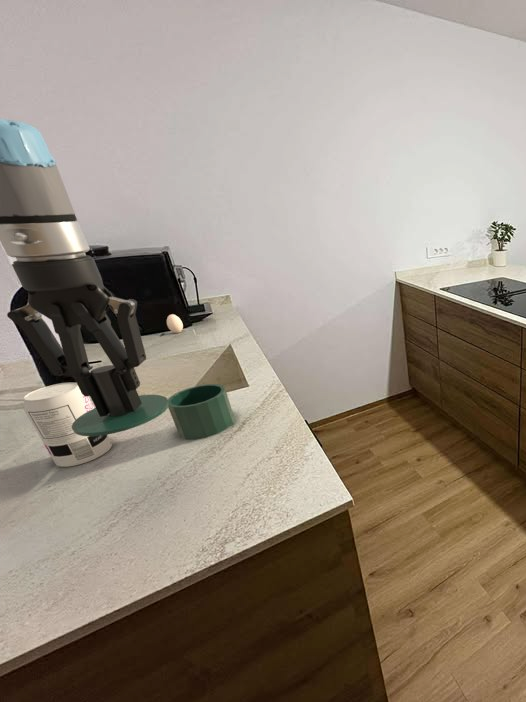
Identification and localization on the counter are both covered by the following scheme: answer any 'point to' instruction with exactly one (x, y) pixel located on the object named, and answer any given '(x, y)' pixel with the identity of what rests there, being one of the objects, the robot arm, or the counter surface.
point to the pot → (201, 411)
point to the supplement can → (63, 424)
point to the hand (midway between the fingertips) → (121, 409)
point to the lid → (116, 408)
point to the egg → (174, 323)
